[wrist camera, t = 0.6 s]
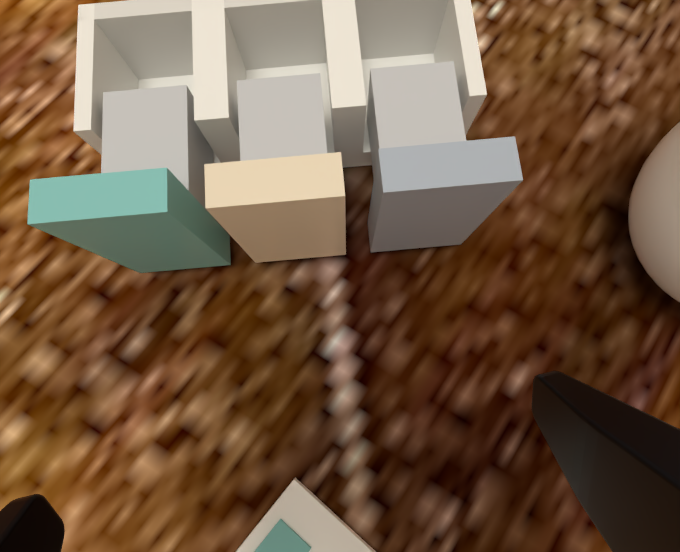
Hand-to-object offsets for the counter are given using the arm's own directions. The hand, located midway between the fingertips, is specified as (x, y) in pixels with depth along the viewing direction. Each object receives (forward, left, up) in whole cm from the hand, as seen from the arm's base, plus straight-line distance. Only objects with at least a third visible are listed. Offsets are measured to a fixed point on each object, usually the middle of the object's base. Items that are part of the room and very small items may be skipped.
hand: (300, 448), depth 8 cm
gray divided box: (+11, -10, -13) cm, 19 cm away
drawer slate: (+4, -10, -12) cm, 16 cm away
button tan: (+8, -6, -12) cm, 16 cm away
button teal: (+12, -3, -12) cm, 17 cm away
